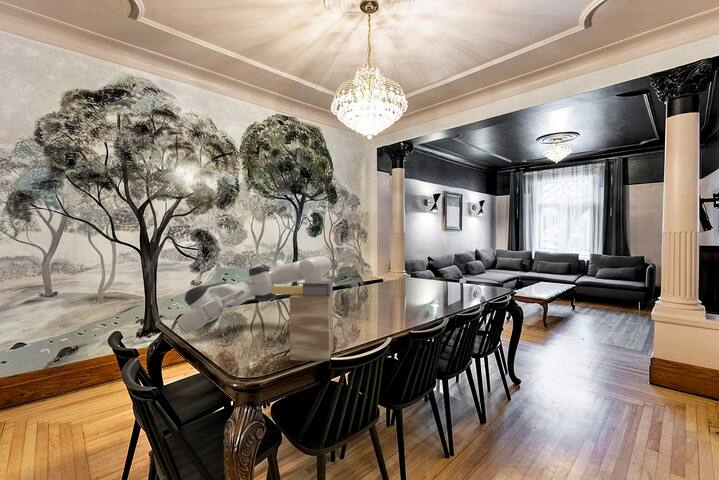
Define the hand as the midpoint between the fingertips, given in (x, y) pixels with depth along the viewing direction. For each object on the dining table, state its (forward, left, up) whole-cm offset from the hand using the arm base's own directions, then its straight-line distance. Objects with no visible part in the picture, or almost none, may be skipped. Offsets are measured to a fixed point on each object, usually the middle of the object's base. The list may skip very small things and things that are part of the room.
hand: (239, 293), depth 138 cm
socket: (0, +34, 0) cm, 35 cm away
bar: (0, +27, 0) cm, 27 cm away
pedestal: (0, +32, -26) cm, 41 cm away
